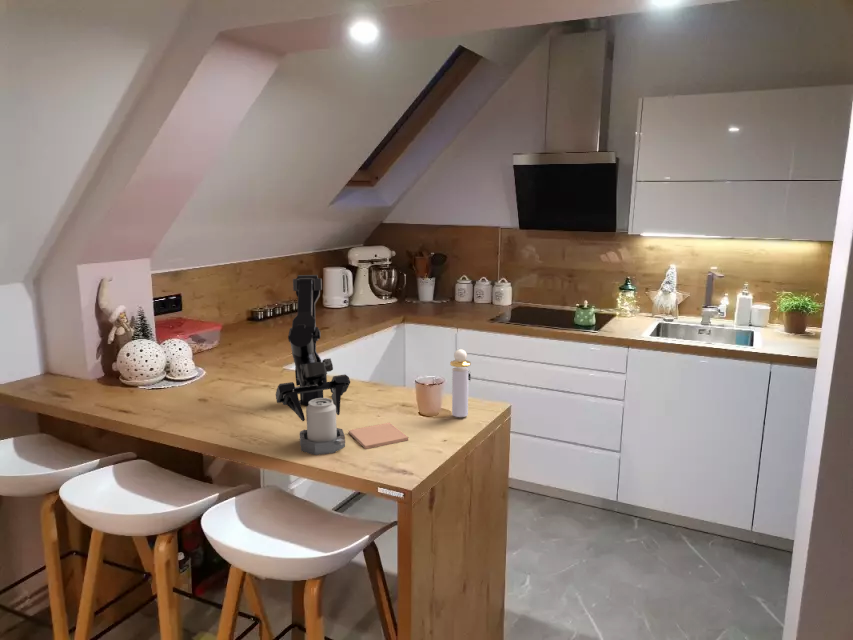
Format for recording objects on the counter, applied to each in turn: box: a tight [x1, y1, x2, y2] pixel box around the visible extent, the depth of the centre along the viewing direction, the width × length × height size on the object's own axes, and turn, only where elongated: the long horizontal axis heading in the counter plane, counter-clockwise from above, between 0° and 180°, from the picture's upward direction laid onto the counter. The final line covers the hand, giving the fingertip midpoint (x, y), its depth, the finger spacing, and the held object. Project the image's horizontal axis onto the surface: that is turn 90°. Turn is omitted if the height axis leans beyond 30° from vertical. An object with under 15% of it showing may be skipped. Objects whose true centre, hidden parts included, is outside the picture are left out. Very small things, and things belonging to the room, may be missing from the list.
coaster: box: [348, 422, 409, 450], centre depth 171 cm, size 12×12×1 cm
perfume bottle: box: [449, 348, 472, 418], centre depth 183 cm, size 6×6×20 cm
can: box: [305, 397, 338, 442], centre depth 164 cm, size 8×8×12 cm
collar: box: [299, 427, 346, 456], centre depth 165 cm, size 13×11×3 cm
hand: (321, 417), depth 163 cm, fingers open, 9 cm apart
